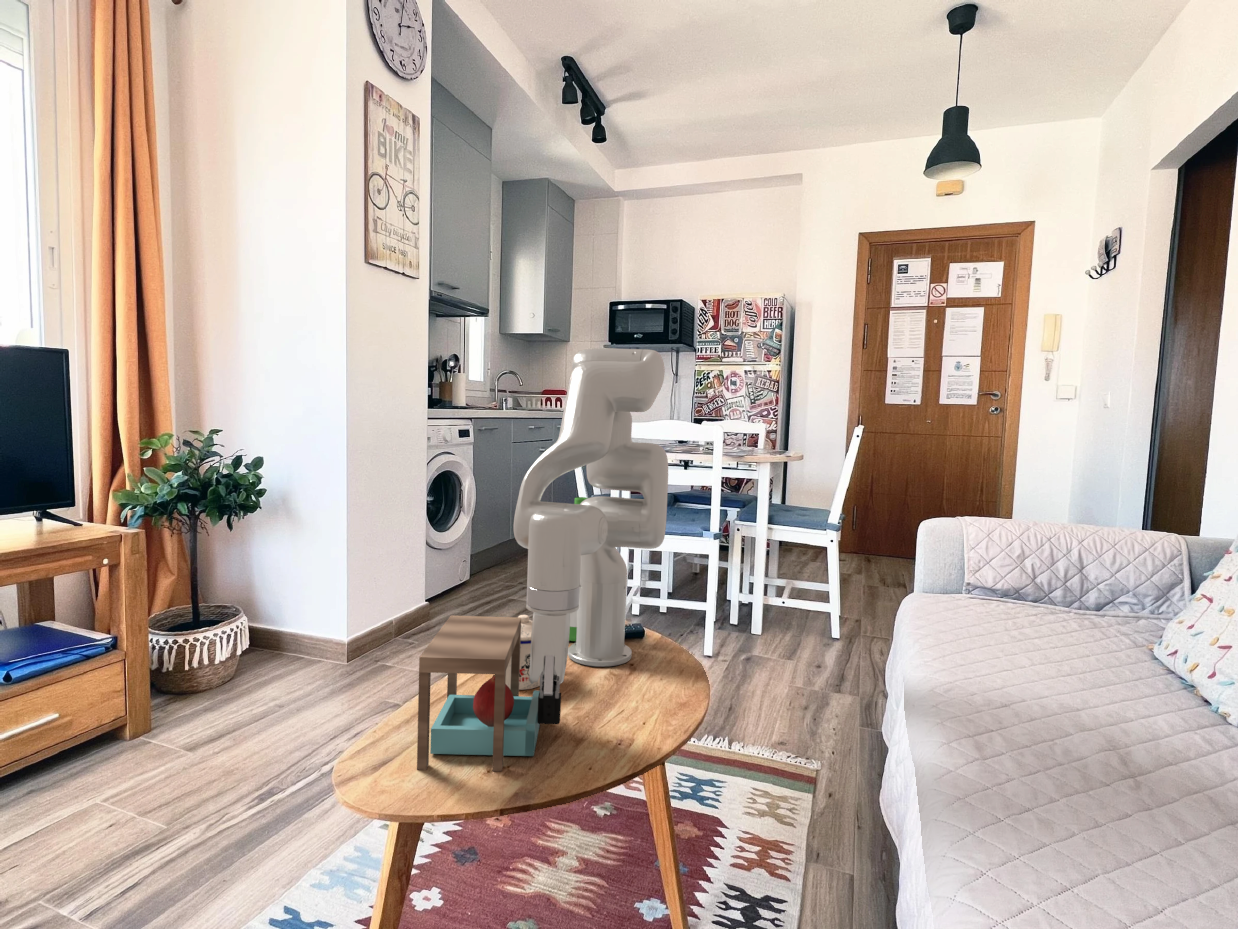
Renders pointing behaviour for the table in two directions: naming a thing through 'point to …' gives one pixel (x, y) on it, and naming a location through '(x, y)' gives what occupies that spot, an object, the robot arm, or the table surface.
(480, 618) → the wooden stool
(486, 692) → the onion
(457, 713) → the shelf tray
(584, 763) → the table surface
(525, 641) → the teacup with lid
